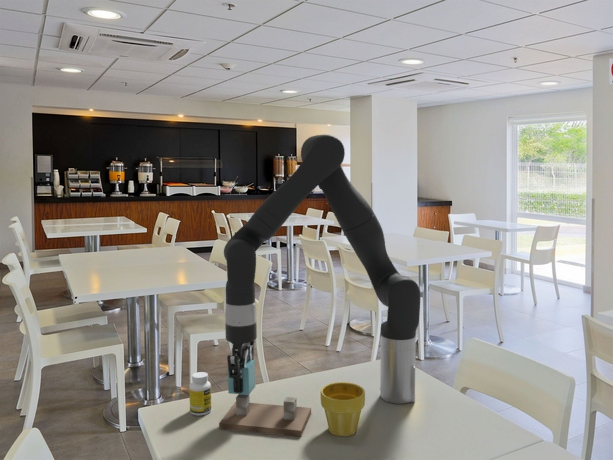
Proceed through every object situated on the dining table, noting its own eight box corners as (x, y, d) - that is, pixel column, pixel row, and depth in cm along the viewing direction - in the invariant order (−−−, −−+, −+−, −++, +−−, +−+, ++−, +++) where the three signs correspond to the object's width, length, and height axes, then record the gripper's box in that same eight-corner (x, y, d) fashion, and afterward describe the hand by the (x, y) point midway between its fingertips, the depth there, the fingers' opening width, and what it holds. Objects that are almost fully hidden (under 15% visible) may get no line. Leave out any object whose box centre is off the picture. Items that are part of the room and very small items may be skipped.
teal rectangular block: (255, 386, 135) (254, 360, 134) (248, 395, 130) (248, 367, 129) (235, 384, 136) (234, 358, 135) (228, 393, 131) (227, 366, 130)
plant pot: (341, 445, 120) (341, 403, 119) (312, 428, 128) (311, 389, 127) (373, 431, 127) (374, 391, 126) (343, 415, 135) (343, 378, 134)
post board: (311, 413, 136) (311, 390, 136) (301, 436, 125) (300, 411, 124) (235, 407, 140) (235, 385, 140) (219, 429, 129) (218, 404, 128)
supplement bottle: (206, 417, 135) (205, 379, 134) (186, 415, 136) (185, 378, 135) (214, 407, 140) (213, 371, 139) (195, 406, 141) (193, 370, 140)
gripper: (246, 330, 123) (247, 401, 125) (264, 313, 137) (265, 377, 139) (215, 328, 125) (217, 398, 126) (235, 312, 138) (237, 375, 140)
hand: (242, 387), depth 133 cm, fingers closed on teal rectangular block, 5 cm apart
